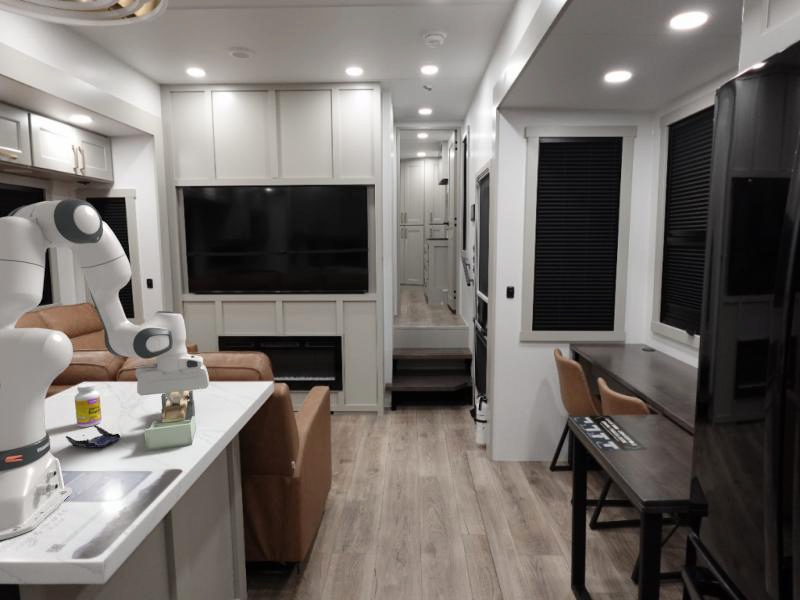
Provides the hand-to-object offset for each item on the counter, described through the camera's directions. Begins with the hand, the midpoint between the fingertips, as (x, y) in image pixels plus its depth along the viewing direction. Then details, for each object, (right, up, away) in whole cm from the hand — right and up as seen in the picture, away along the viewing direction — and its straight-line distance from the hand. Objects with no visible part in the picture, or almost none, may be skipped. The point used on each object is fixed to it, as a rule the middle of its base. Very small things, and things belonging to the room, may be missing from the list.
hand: (175, 405), depth 145 cm
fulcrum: (-1, -6, +5) cm, 8 cm away
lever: (-2, -1, +5) cm, 6 cm away
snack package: (-17, -9, -13) cm, 23 cm away
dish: (+4, -8, -10) cm, 13 cm away
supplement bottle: (-29, -7, +3) cm, 30 cm away
